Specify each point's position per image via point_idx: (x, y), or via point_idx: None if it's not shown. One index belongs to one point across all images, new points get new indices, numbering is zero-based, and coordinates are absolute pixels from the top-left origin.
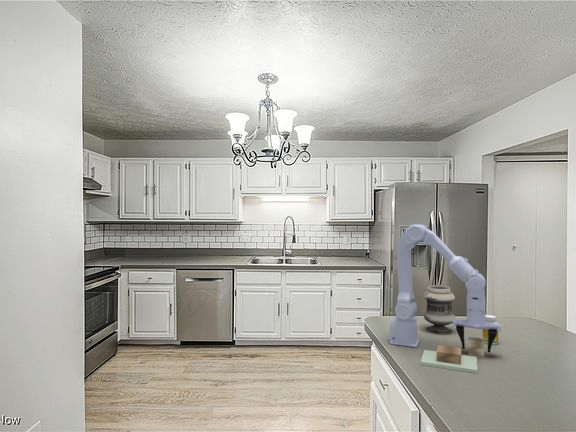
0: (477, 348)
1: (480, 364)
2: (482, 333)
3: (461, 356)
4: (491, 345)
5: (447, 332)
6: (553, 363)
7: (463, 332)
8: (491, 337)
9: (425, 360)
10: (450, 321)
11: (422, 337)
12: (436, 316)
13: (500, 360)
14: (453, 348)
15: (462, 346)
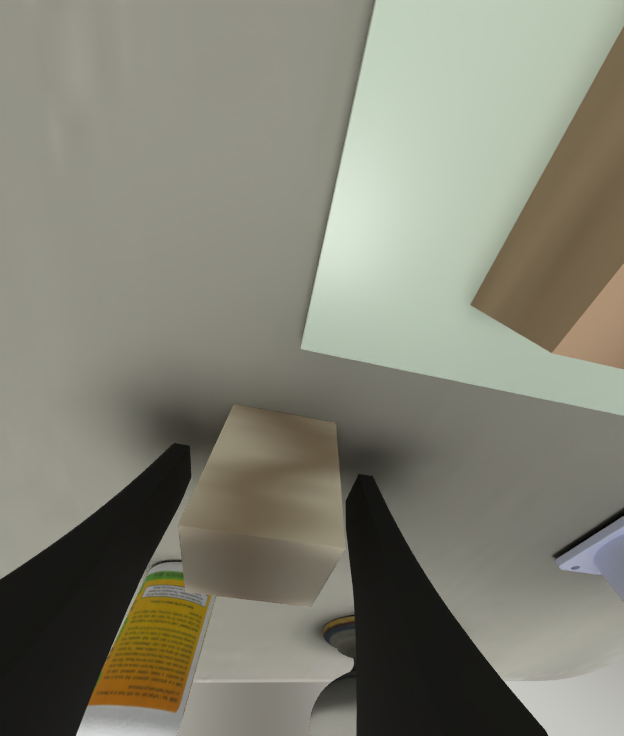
0: (266, 463)
1: (292, 212)
2: (202, 633)
3: (452, 332)
4: (116, 495)
5: (350, 625)
6: None
7: (442, 709)
8: (7, 616)
9: None
10: (345, 709)
11: (489, 590)
12: None
13: (114, 365)
14: None
15: (380, 494)
